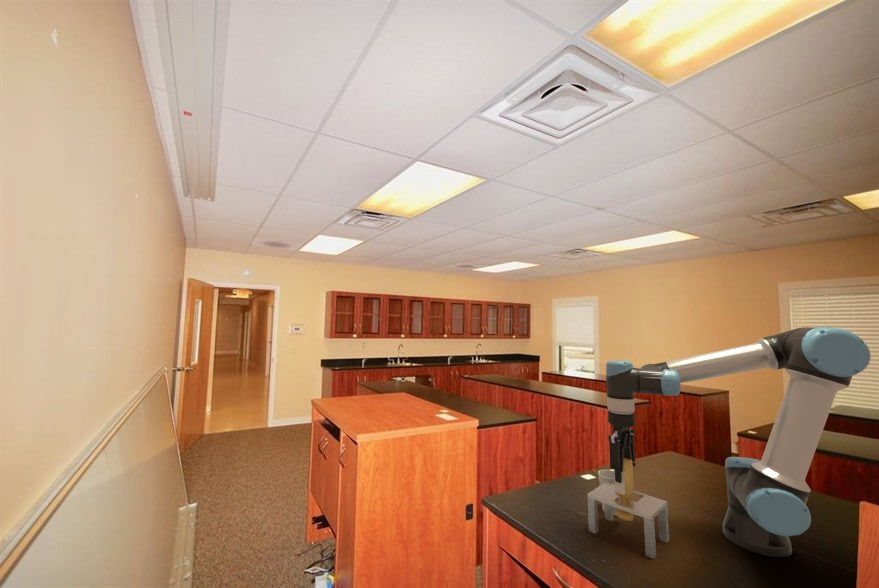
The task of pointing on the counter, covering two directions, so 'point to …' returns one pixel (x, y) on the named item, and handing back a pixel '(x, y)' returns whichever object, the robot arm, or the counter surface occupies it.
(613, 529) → the counter surface
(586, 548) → the counter surface
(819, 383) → the robot arm
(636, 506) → the shelf
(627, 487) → the yellow tall stemmed piece
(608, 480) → the cup
